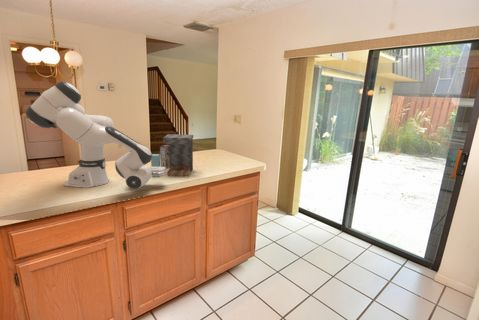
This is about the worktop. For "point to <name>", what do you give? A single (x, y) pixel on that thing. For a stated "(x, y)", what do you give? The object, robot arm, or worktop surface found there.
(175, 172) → the dark grey upright block
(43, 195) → the worktop surface
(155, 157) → the peg
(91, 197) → the worktop surface
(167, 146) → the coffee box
